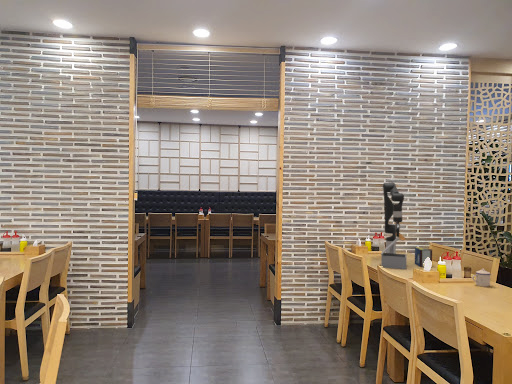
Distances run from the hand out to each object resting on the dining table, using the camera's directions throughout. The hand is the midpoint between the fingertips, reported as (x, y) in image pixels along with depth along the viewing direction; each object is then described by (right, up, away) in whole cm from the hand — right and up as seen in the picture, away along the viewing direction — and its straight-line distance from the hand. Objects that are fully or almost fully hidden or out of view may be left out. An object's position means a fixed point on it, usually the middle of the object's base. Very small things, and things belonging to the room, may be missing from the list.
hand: (397, 236), depth 345 cm
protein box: (+25, -27, +9) cm, 38 cm away
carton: (-3, -26, +1) cm, 26 cm away
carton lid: (-2, -10, +1) cm, 10 cm away
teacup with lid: (+36, -28, -62) cm, 77 cm away
